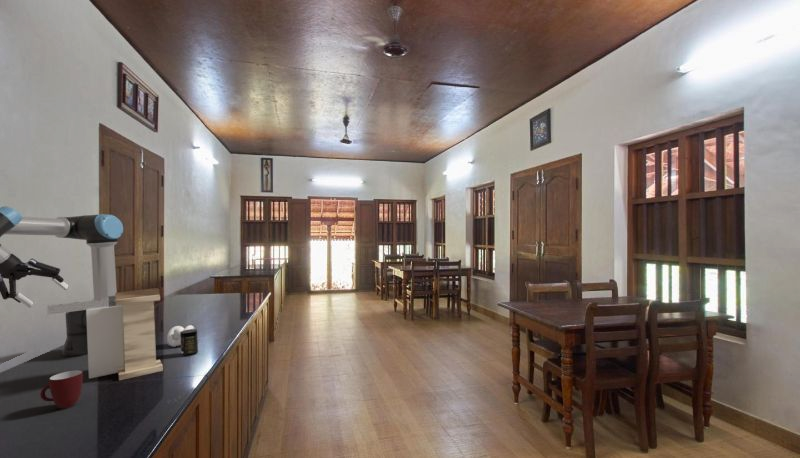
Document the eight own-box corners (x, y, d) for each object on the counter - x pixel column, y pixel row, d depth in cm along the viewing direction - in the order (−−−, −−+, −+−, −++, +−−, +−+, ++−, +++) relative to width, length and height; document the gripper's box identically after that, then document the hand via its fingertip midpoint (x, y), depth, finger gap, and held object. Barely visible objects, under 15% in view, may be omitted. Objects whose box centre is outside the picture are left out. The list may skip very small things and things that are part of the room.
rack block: (89, 372, 152) (86, 307, 152) (123, 365, 158) (121, 303, 158) (88, 378, 145) (86, 310, 145) (124, 371, 152) (121, 306, 152)
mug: (35, 416, 115) (34, 383, 115) (45, 406, 122) (43, 375, 122) (80, 407, 120) (78, 376, 120) (86, 398, 127) (85, 368, 127)
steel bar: (48, 313, 143) (48, 302, 143) (127, 303, 158) (126, 294, 158) (47, 314, 140) (47, 303, 140) (127, 304, 155) (127, 294, 155)
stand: (118, 373, 150) (115, 292, 150) (159, 364, 159) (156, 287, 159) (119, 380, 142) (115, 295, 142) (162, 370, 151) (159, 290, 151)
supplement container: (201, 353, 172) (200, 330, 172) (186, 357, 166) (185, 333, 166) (193, 351, 176) (192, 328, 176) (178, 355, 170) (177, 332, 170)
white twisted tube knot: (200, 344, 186) (199, 325, 186) (172, 350, 178) (171, 331, 178) (191, 340, 194) (191, 322, 194) (165, 346, 185) (164, 327, 185)
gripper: (-42, 283, 134) (13, 318, 147) (33, 248, 138) (79, 286, 152) (-32, 271, 139) (19, 306, 152) (38, 238, 144) (83, 275, 157)
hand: (49, 296), depth 152 cm, fingers open, 13 cm apart
